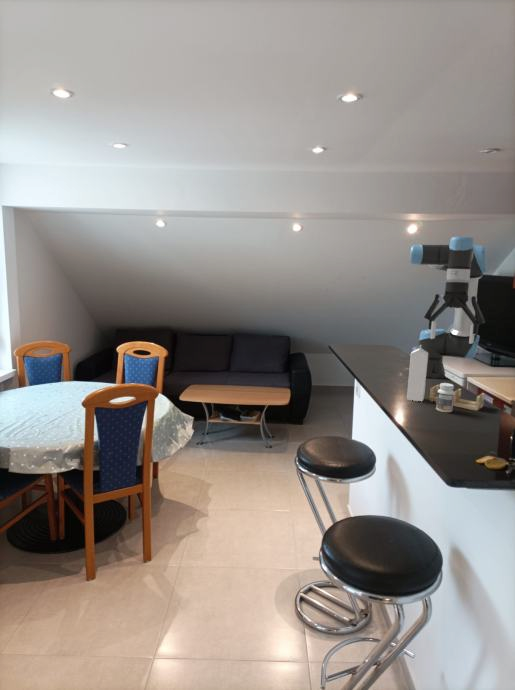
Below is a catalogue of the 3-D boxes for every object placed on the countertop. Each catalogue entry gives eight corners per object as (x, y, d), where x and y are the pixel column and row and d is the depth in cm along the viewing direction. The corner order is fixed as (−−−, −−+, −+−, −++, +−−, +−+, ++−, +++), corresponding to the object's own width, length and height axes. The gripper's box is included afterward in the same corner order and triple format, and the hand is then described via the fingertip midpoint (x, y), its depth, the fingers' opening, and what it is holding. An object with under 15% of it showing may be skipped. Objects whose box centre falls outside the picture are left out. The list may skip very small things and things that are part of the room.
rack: (436, 396, 185) (437, 384, 184) (483, 406, 174) (484, 393, 173) (429, 400, 179) (430, 387, 178) (476, 410, 168) (478, 397, 167)
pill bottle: (438, 407, 171) (441, 381, 169) (454, 410, 167) (457, 384, 165) (433, 410, 166) (436, 384, 165) (449, 413, 163) (452, 387, 161)
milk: (406, 400, 179) (410, 345, 176) (408, 396, 185) (413, 343, 181) (422, 402, 177) (427, 346, 173) (424, 398, 182) (429, 344, 178)
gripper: (418, 280, 164) (413, 337, 168) (493, 282, 148) (485, 346, 151) (426, 280, 170) (421, 335, 173) (498, 283, 154) (491, 344, 157)
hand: (451, 340), depth 162 cm, fingers open, 13 cm apart
